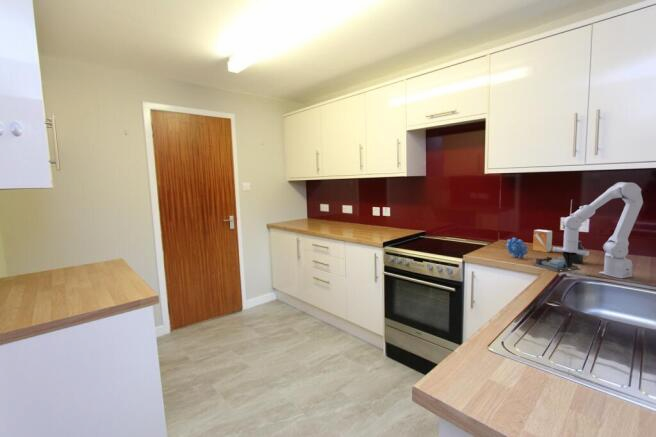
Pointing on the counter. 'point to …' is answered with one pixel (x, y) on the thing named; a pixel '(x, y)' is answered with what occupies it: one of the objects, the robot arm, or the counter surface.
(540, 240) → the small box
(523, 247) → the grapes
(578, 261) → the supplement bottle
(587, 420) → the counter surface
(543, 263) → the heatsink base
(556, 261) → the blue-grey rectangular block
